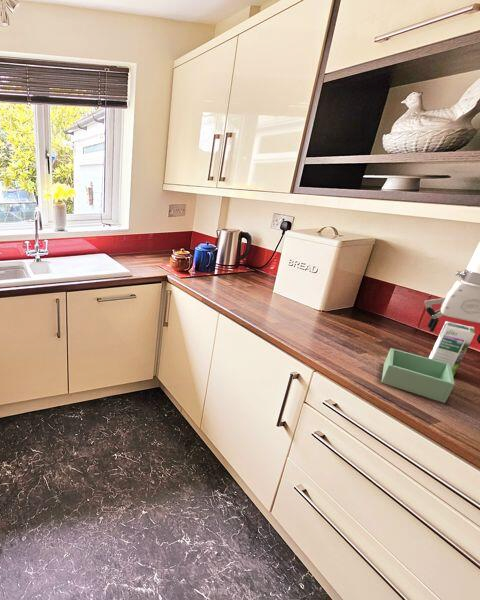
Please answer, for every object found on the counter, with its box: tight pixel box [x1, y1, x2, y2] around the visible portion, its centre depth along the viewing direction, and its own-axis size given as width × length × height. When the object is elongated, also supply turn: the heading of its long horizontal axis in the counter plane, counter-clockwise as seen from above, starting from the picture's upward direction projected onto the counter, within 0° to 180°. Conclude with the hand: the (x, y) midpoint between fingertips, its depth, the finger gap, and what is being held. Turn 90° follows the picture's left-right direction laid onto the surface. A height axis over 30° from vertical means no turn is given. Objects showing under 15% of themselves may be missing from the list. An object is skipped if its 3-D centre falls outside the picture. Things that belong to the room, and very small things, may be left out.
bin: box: [381, 347, 455, 404], centre depth 93 cm, size 13×13×6 cm
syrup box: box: [428, 320, 476, 377], centre depth 97 cm, size 6×6×14 cm
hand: (454, 335), depth 96 cm, fingers open, 9 cm apart
